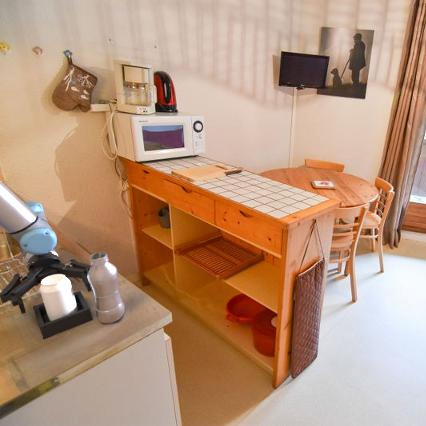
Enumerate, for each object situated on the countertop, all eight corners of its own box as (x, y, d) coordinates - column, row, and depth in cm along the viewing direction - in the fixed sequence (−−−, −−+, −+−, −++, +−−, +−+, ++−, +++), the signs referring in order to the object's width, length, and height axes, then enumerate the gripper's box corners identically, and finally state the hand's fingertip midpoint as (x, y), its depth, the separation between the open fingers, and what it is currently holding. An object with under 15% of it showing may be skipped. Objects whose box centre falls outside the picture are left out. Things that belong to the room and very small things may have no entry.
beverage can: (44, 319, 84) (32, 281, 80) (70, 305, 90) (59, 270, 85) (58, 327, 82) (46, 289, 77) (83, 313, 87) (73, 277, 83)
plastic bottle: (93, 319, 86) (76, 256, 79) (119, 306, 92) (106, 246, 84) (104, 330, 83) (89, 265, 76) (130, 316, 89) (118, 254, 81)
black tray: (43, 339, 79) (39, 327, 78) (36, 317, 86) (32, 306, 84) (92, 320, 86) (90, 308, 85) (83, 301, 93) (80, 290, 91)
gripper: (95, 260, 104) (115, 290, 91) (-12, 289, 87) (-6, 332, 74) (90, 239, 102) (110, 268, 88) (-21, 266, 85) (-17, 306, 71)
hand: (57, 297), depth 81 cm, fingers open, 13 cm apart
